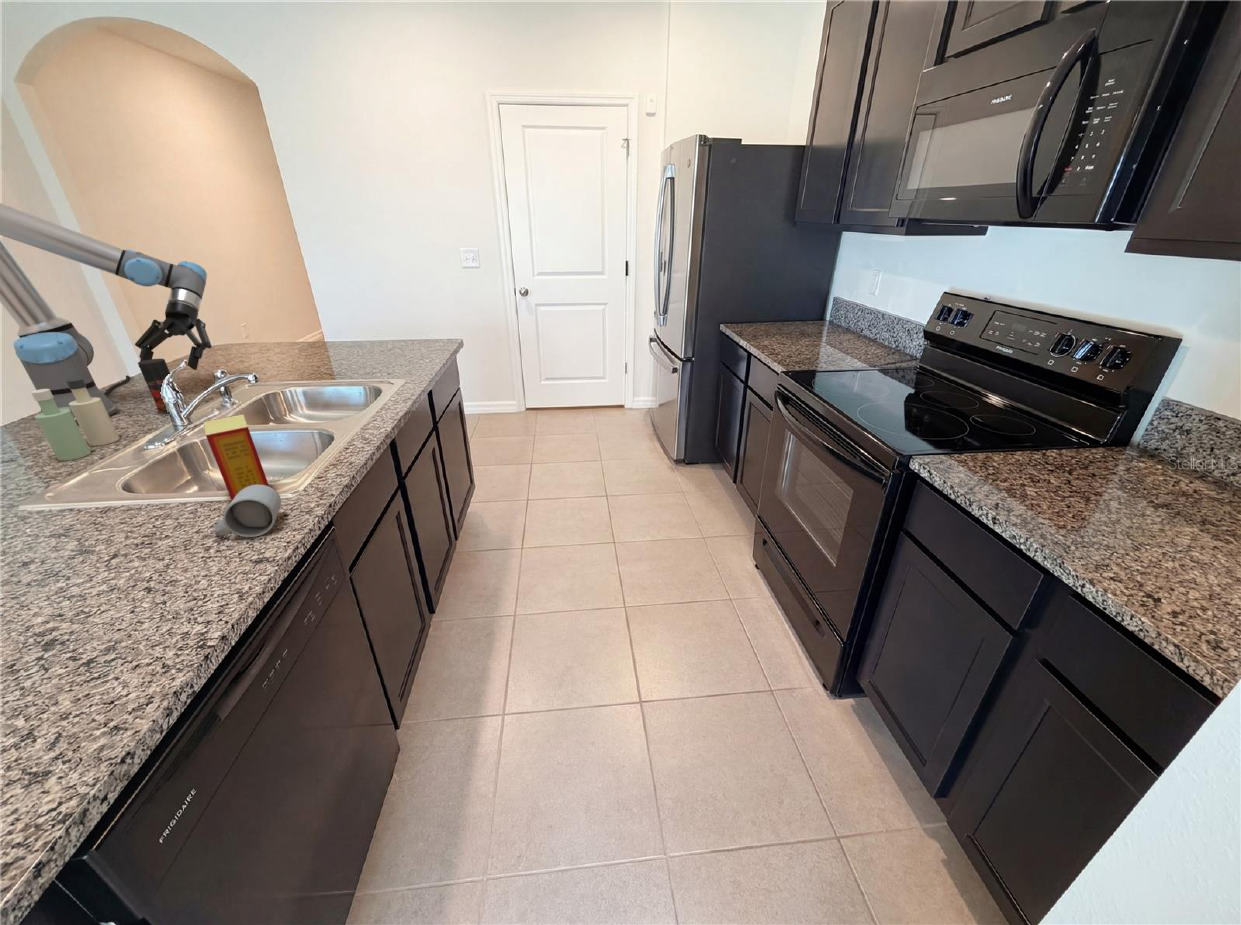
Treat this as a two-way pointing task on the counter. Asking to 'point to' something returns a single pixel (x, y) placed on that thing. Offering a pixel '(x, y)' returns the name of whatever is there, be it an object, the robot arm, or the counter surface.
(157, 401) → the deodorant
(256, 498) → the ceramic mug
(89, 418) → the bottle
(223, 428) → the baking soda box
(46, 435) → the bottle
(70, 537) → the counter surface
